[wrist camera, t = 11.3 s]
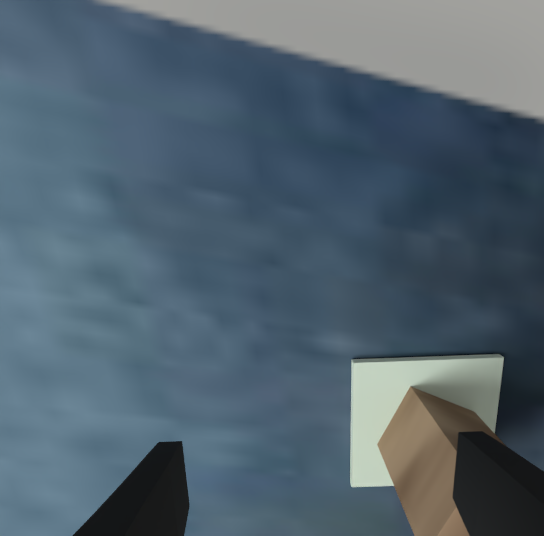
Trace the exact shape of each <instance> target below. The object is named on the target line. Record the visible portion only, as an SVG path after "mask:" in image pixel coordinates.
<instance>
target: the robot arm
mask: <svg viewBox="0 0 544 536" xmlns="http://www.w3.org/2000/svg"><path fill="white" fill-rule="evenodd" d="M452 498H453V500H454V502H455V504H456V507H457V509H458V511H459V514H460V516H461V518H462V520H463V523H464V525H465V527H466V529H467V531H468V533H469V536H544V472H543V471H542V470H540V469H539V468H538V467H536V466H535V465H533V464H532V463H530V462H529V461H527V460H526V459H524V458H523V457H521V456H520V455H518V454H517V453H515V452H514V451H512V450H511V449H509V448H508V447H506V446H505V445H503V444H502V443H500V442H499V441H497V440H496V439H494V438H493V437H491V436H489V435H488V434H486V433H484V432H483V431H473V432H458V443H457V454H456V464H455V475H454V486H453V496H452ZM188 511H189V497H188V489H187V480H186V472H185V463H184V455H183V446H182V441H176V442H159V443H158V444H157V445H156V446H155V447H154V448H153V449H152V450H151V451H150V452H149V453H148V454H147V456H146V457H145V458H144V459H143V460H142V461H141V462H140V463H139V465H138V466H137V467H136V468H135V469H134V470H133V471H132V472H131V474H130V475H129V476H128V477H127V478H126V479H125V480H124V481H123V483H122V484H121V485H120V486H119V487H118V488H117V489H116V490H115V491H114V492H113V494H112V495H111V496H110V497H109V498H108V499H107V500H106V501H105V502H104V503H103V504H102V505H101V506H100V508H99V509H98V510H97V511H96V512H95V513H94V514H93V515H92V516H91V517H90V518H89V519H88V520H87V521H86V522H85V523H84V525H83V526H82V527H81V528H80V529H79V530H78V531H77V532H76V533H75V534H74V535H73V536H184V532H185V527H186V522H187V516H188Z"/></svg>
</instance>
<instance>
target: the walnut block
mask: <svg viewBox="0 0 544 536" xmlns="http://www.w3.org/2000/svg"><path fill="white" fill-rule="evenodd" d="M473 431H483V432H484V433H486V434H488V435H489V436H491V437H493V438H494V439H496V440H497V441H499V442H500V443H502V444H503V445H505V444H504V443H503V442H502V441H501V440H500V439H499V438H498V437H497V436H496V435H495V433H494V432H493V431H492V430H491V429H490V428H489V427H488V426H487V425H486V424H485V423H484V422H483V420H482V419H481V418H480V417H479V416H478V415H477V414H476V413H475V412H474V411H472V410H469V409H467V408H464V407H462V406H459V405H456V404H454V403H451V402H449V401H446V400H444V399H441V398H439V397H436V396H434V395H431V394H429V393H426V392H424V391H421V390H419V389H416V388H414V387H411V386H410V388H409V390H408V391H407V393H406V395H405V396H404V398H403V400H402V402H401V403H400V405H399V407H398V409H397V410H396V412H395V414H394V416H393V417H392V419H391V421H390V423H389V424H388V426H387V428H386V430H385V431H384V433H383V435H382V437H381V438H380V440H379V442H378V444H377V446H378V448H379V450H380V453H381V455H382V458H383V460H384V463H385V465H386V467H387V470H388V472H389V475H390V477H391V479H392V482H393V484H394V487H395V489H396V492H397V494H398V496H399V499H400V501H401V504H402V506H403V509H404V511H405V513H406V516H407V518H408V521H409V523H410V526H411V528H412V530H413V533H414V535H415V536H469V533H468V531H467V529H466V527H465V525H464V523H463V520H462V518H461V516H460V514H459V511H458V509H457V507H456V504H455V502H454V500H453V498H452V496H453V486H454V475H455V464H456V454H457V443H458V432H473ZM505 446H506V445H505Z"/></svg>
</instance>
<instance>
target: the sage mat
mask: <svg viewBox="0 0 544 536" xmlns="http://www.w3.org/2000/svg"><path fill="white" fill-rule="evenodd" d="M503 361H504V357H503V356H501V355H500V354H485V355H457V356H430V357H402V358H375V359H352V368H351V452H350V483H351V486H352V487H371V486H394V484H393V482H392V479H391V477H390V475H389V472H388V470H387V467H386V465H385V463H384V460H383V458H382V455H381V453H380V450H379V448H378V446H377V444H378V442H379V440H380V438H381V437H382V435H383V433H384V431H385V430H386V428H387V426H388V424H389V423H390V421H391V419H392V417H393V416H394V414H395V412H396V410H397V409H398V407H399V405H400V403H401V402H402V400H403V398H404V396H405V395H406V393H407V391H408V390H409V388H410V386H411V387H414V388H416V389H419V390H421V391H424V392H426V393H429V394H431V395H434V396H436V397H439V398H441V399H444V400H446V401H449V402H451V403H454V404H456V405H459V406H462V407H464V408H467V409H469V410H472V411H474V412H475V413H476V414H477V415H478V416H479V417H480V418H481V419H482V420H483V422H484V423H485V424H486V425H487V426H488V427H489V428H490V429H491V430H492V431H493V432H494V433H495V427H496V419H497V411H498V402H499V394H500V386H501V378H502V370H503Z"/></svg>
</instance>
